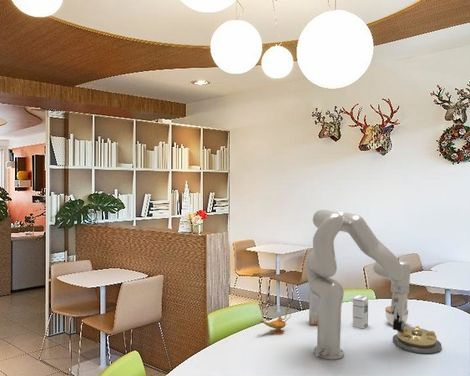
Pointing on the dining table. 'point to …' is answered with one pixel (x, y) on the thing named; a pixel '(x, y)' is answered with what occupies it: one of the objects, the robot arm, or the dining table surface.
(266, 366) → the dining table surface
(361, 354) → the dining table surface
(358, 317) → the syrup box
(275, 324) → the magic lamp
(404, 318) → the lidded jar
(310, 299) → the cracker box
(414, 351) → the base
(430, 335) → the gold dish
